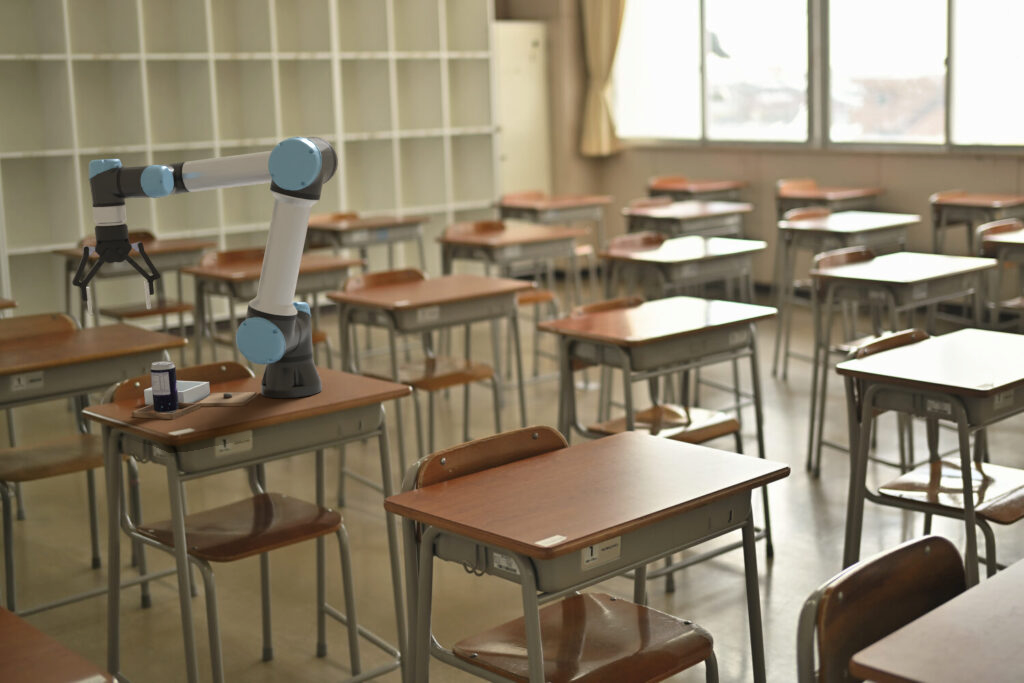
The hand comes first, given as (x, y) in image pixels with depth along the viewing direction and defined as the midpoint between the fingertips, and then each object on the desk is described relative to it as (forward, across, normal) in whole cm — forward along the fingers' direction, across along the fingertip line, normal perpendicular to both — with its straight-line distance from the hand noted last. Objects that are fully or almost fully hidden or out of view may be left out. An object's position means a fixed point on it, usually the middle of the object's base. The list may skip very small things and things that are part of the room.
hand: (120, 311), depth 288 cm
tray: (+23, -11, +3) cm, 26 cm away
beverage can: (+23, -7, +16) cm, 29 cm away
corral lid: (+23, -22, +11) cm, 34 cm away
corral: (+23, -7, +16) cm, 29 cm away
